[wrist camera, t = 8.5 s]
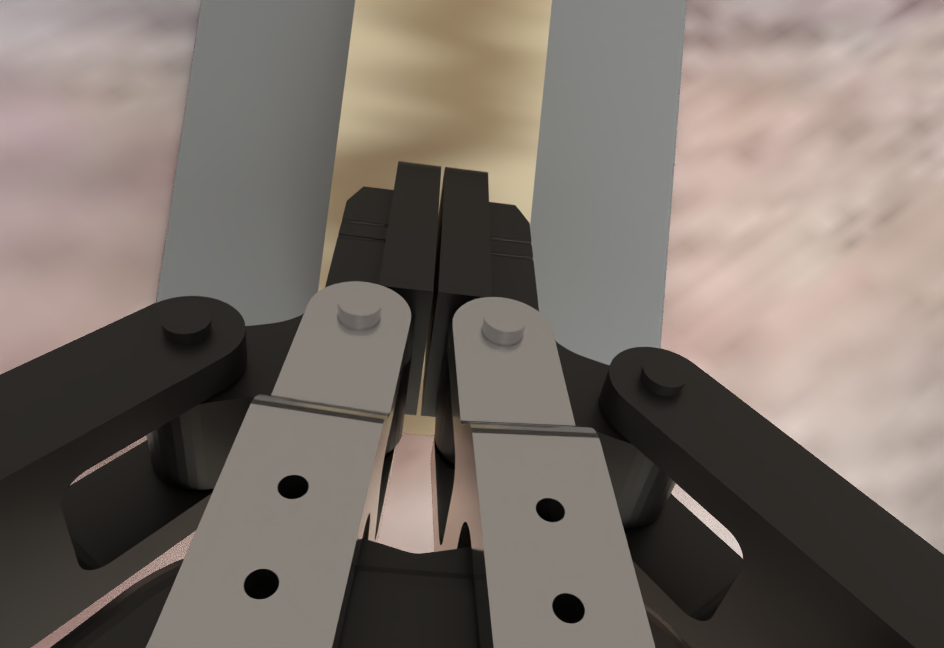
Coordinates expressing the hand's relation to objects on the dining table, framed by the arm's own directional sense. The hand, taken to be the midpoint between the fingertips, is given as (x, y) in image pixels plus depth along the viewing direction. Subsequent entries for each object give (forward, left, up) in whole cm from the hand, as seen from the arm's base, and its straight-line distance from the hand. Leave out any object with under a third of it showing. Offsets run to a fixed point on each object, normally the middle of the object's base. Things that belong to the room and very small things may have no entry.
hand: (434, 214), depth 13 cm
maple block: (0, -4, -6) cm, 7 cm away
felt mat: (0, +4, -9) cm, 10 cm away
